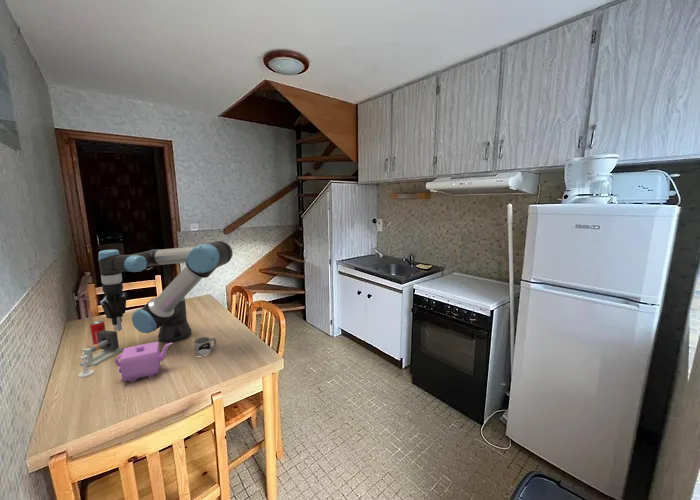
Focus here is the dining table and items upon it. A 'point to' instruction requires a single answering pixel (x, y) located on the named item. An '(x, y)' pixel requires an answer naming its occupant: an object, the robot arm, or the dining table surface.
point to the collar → (113, 339)
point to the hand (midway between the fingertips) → (118, 330)
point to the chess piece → (85, 368)
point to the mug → (203, 346)
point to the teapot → (140, 361)
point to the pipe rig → (101, 355)
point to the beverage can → (96, 330)
